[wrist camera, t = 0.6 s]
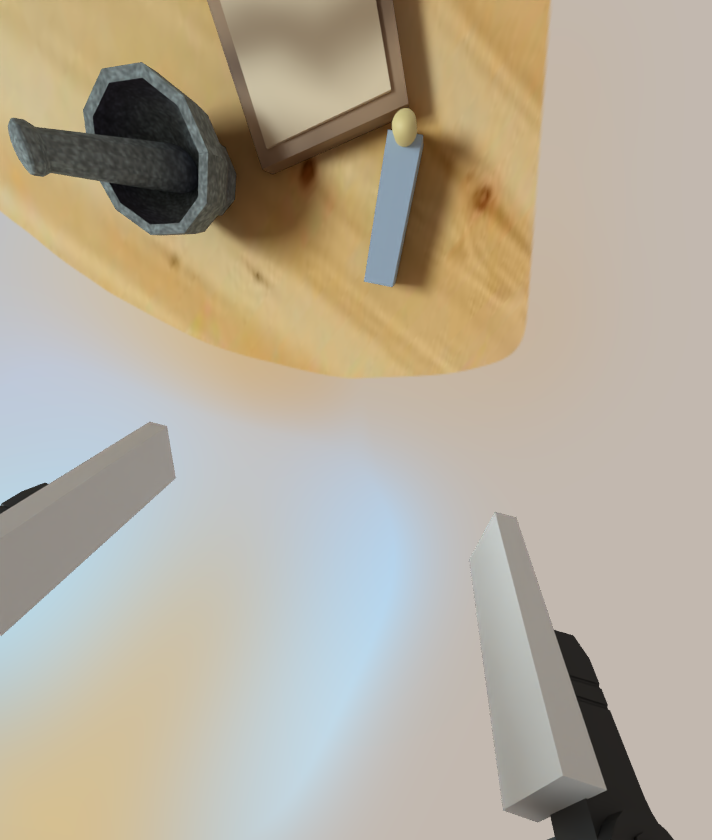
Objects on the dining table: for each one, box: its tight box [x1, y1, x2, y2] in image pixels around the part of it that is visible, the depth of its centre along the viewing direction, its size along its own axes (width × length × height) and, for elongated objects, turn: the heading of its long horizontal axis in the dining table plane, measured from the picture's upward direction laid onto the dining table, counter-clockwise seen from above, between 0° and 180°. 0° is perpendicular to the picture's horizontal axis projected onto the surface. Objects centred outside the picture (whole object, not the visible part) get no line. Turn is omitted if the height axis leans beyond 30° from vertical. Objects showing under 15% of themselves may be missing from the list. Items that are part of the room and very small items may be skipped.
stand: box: [207, 0, 409, 174], centre depth 22 cm, size 12×12×2 cm
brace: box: [364, 108, 423, 287], centre depth 25 cm, size 11×2×4 cm, turn 171°
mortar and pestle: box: [8, 62, 236, 235], centre depth 23 cm, size 11×9×12 cm
